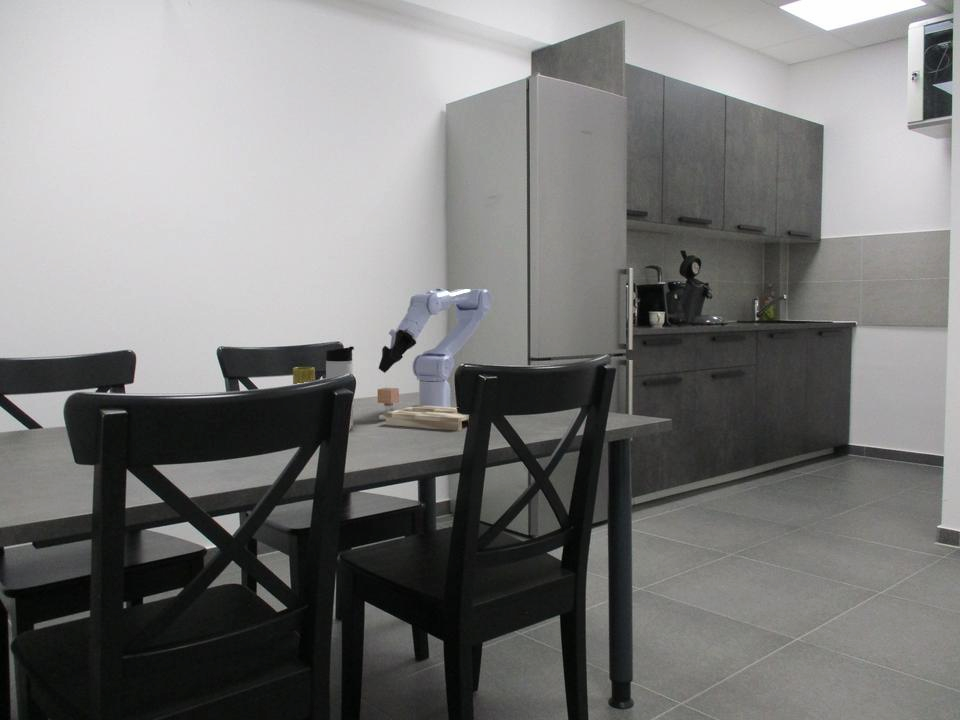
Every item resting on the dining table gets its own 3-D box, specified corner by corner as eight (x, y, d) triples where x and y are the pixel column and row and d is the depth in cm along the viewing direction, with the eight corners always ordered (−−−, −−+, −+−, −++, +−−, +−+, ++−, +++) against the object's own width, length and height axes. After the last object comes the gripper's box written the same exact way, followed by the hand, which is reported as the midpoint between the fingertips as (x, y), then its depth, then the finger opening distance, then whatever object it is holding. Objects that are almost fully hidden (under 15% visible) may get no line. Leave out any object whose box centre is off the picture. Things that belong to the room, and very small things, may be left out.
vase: (322, 424, 200) (321, 367, 199) (304, 427, 195) (303, 369, 194) (304, 422, 203) (303, 366, 202) (286, 425, 198) (285, 368, 197)
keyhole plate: (416, 416, 214) (416, 405, 214) (485, 421, 206) (485, 409, 206) (385, 424, 200) (385, 412, 200) (458, 430, 192) (458, 418, 192)
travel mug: (351, 432, 189) (351, 347, 188) (324, 431, 189) (323, 347, 188) (356, 427, 195) (356, 345, 194) (329, 427, 195) (328, 345, 194)
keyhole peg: (385, 417, 212) (385, 387, 211) (400, 418, 210) (400, 388, 209) (375, 420, 208) (375, 389, 207) (391, 421, 206) (391, 390, 205)
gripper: (388, 330, 217) (364, 366, 209) (409, 306, 206) (385, 343, 198) (409, 345, 218) (386, 381, 210) (431, 322, 207) (408, 359, 199)
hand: (387, 364), depth 204 cm, fingers open, 7 cm apart
